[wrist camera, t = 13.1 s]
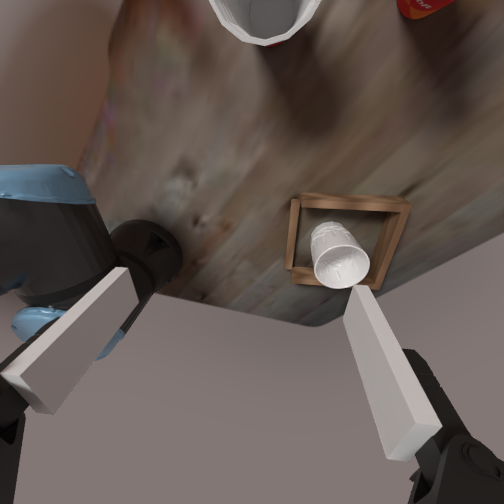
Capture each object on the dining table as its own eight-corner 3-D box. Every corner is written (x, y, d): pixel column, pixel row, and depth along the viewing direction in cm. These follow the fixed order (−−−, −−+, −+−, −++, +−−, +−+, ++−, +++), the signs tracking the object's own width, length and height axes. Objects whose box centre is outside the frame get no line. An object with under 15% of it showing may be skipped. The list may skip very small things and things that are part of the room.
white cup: (333, 261, 45) (346, 295, 36) (299, 245, 44) (304, 276, 35) (360, 229, 41) (382, 259, 32) (322, 210, 40) (335, 236, 31)
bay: (283, 270, 47) (284, 282, 44) (292, 192, 39) (293, 199, 35) (371, 276, 46) (379, 289, 42) (400, 196, 37) (412, 204, 34)
